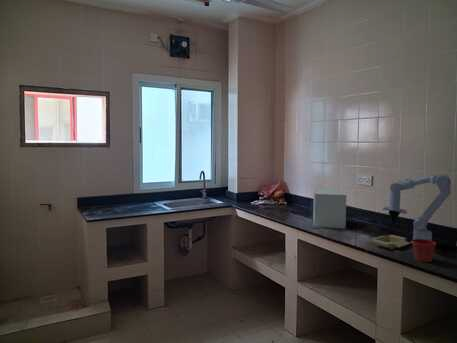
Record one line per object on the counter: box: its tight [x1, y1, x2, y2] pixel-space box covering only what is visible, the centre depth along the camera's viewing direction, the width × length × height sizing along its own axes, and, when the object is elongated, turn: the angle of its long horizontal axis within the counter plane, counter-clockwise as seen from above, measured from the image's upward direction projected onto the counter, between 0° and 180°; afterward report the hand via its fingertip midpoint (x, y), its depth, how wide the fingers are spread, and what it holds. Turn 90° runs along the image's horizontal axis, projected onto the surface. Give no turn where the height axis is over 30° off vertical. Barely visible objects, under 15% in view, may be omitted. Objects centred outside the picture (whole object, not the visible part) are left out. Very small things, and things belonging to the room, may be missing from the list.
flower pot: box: [411, 238, 437, 263], centre depth 177 cm, size 11×11×10 cm
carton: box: [370, 234, 407, 250], centre depth 202 cm, size 11×22×3 cm, turn 125°
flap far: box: [369, 235, 386, 241], centre depth 208 cm, size 4×12×1 cm, turn 125°
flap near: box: [392, 239, 411, 248], centre depth 197 cm, size 4×12×1 cm, turn 126°
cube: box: [312, 188, 347, 229], centre depth 254 cm, size 25×21×24 cm
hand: (393, 222), depth 214 cm, fingers closed
